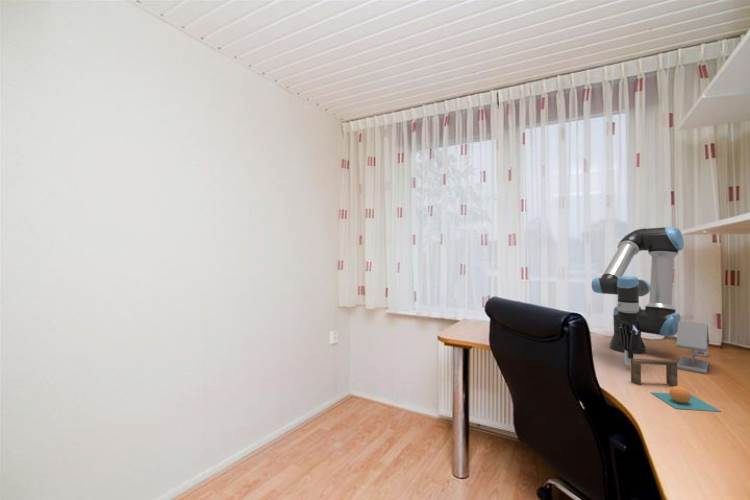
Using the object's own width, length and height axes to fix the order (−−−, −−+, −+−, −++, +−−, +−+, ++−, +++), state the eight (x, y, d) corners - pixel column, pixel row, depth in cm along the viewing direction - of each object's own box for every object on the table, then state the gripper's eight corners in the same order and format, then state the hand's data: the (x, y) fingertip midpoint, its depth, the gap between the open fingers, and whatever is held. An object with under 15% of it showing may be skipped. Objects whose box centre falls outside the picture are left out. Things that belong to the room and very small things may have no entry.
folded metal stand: (706, 374, 142) (705, 327, 142) (676, 369, 149) (675, 323, 149) (709, 364, 155) (708, 320, 155) (681, 360, 162) (680, 318, 162)
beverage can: (700, 353, 172) (699, 323, 172) (711, 356, 166) (710, 326, 166) (688, 353, 172) (688, 323, 172) (699, 356, 166) (699, 326, 166)
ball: (663, 390, 120) (669, 382, 117) (681, 391, 119) (687, 383, 116) (671, 406, 116) (678, 398, 113) (690, 406, 115) (697, 398, 112)
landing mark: (650, 392, 124) (650, 392, 124) (691, 395, 122) (690, 394, 122) (675, 408, 111) (675, 408, 111) (721, 411, 109) (721, 411, 109)
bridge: (631, 381, 135) (630, 358, 135) (672, 383, 133) (671, 360, 133) (635, 384, 132) (635, 360, 132) (677, 386, 130) (677, 362, 130)
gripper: (611, 308, 157) (612, 360, 156) (627, 313, 144) (628, 369, 143) (629, 309, 155) (630, 360, 155) (646, 314, 142) (647, 370, 142)
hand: (629, 364), depth 149 cm, fingers closed
